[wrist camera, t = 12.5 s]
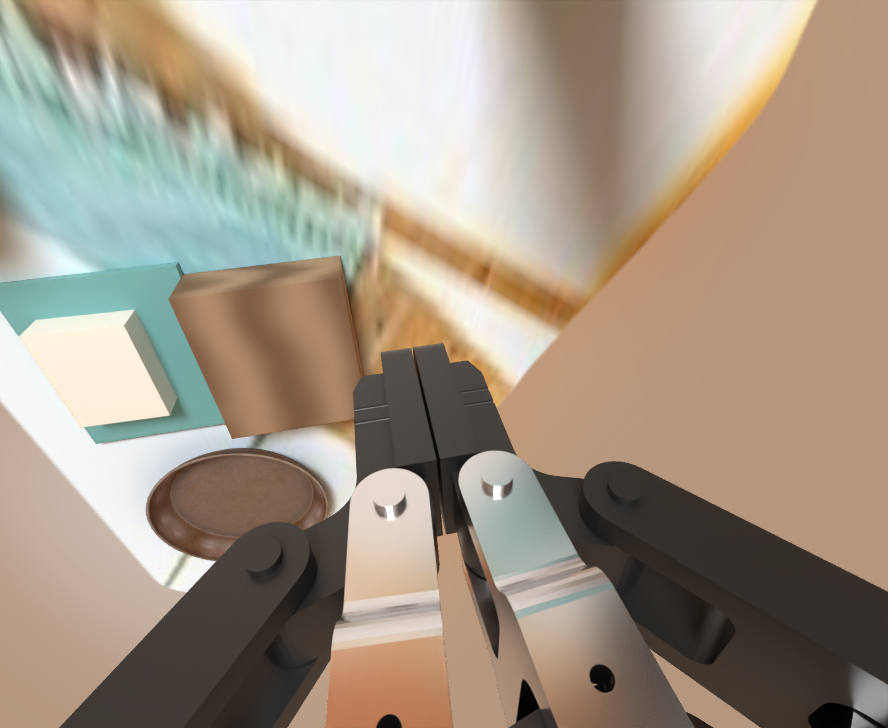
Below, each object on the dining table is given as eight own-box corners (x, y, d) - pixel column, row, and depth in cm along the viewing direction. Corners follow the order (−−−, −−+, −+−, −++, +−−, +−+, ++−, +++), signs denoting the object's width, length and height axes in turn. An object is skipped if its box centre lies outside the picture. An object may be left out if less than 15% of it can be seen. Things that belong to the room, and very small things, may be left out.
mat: (177, 262, 35) (175, 265, 35) (243, 416, 45) (242, 420, 44) (-12, 284, 33) (-16, 288, 33) (98, 439, 43) (96, 443, 43)
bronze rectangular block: (340, 255, 37) (340, 277, 34) (366, 389, 46) (368, 417, 42) (183, 274, 36) (168, 299, 32) (239, 408, 44) (232, 438, 41)
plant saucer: (286, 412, 46) (284, 434, 43) (351, 512, 57) (351, 534, 54) (115, 466, 46) (103, 491, 43) (212, 555, 57) (207, 579, 54)
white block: (18, 337, 33) (35, 319, 35) (80, 427, 39) (92, 408, 40) (123, 325, 34) (135, 309, 36) (169, 415, 39) (177, 397, 41)
